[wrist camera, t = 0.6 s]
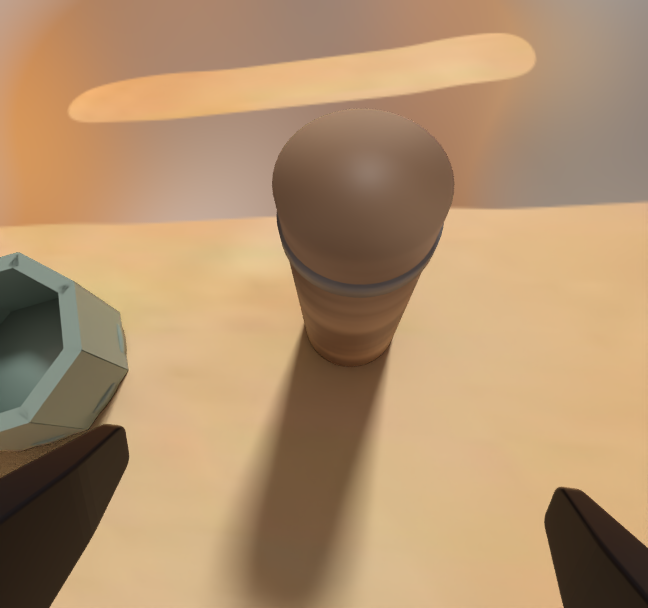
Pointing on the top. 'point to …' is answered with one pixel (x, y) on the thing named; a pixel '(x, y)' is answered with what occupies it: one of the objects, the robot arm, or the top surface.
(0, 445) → the pot
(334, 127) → the pepper mill
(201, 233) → the top surface
